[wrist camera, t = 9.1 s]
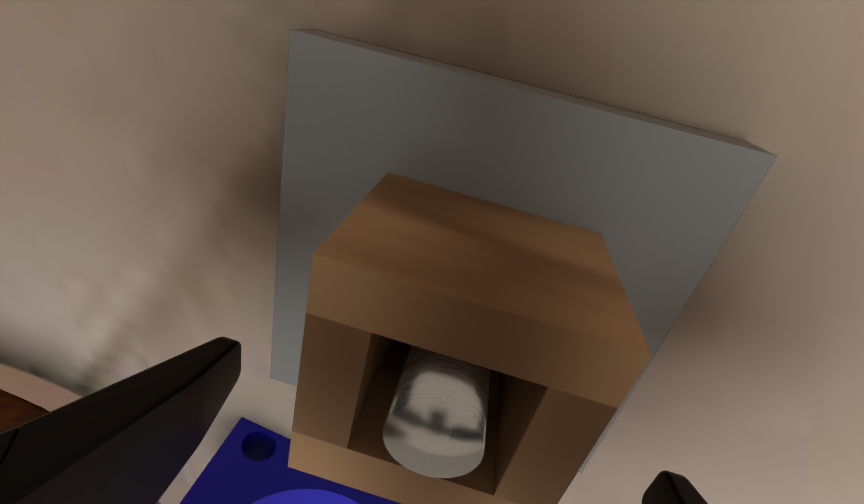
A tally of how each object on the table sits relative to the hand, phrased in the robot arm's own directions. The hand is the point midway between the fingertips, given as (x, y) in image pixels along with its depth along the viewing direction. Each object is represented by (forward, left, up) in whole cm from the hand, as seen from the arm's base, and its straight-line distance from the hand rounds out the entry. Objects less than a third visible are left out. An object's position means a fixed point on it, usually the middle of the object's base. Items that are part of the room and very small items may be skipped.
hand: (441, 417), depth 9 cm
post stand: (0, 0, -6) cm, 6 cm away
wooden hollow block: (0, 0, -5) cm, 5 cm away
